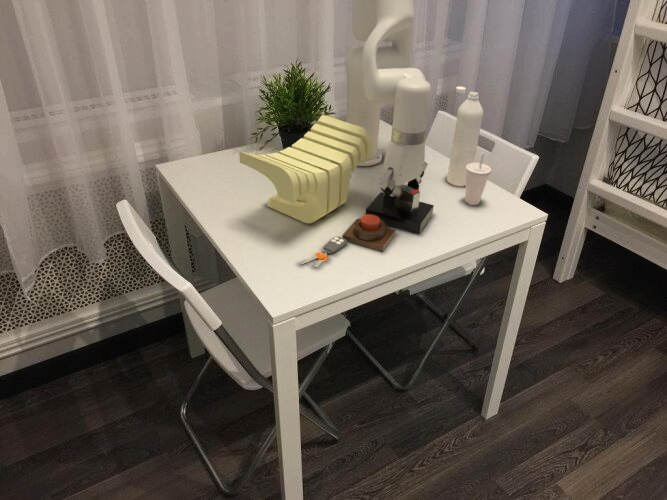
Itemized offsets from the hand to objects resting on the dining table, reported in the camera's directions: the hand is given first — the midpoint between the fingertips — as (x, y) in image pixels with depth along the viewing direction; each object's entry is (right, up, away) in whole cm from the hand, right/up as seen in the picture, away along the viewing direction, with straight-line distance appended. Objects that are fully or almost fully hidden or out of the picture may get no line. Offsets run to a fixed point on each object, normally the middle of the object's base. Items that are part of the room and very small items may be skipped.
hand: (400, 202), depth 143 cm
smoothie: (+20, +1, +11) cm, 23 cm away
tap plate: (0, -4, +2) cm, 4 cm away
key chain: (-18, -13, -12) cm, 25 cm away
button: (-8, -6, -7) cm, 12 cm away
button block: (-8, -9, -6) cm, 13 cm away
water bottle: (+18, +8, +21) cm, 28 cm away
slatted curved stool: (-23, -1, +5) cm, 23 cm away
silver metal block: (0, -1, +1) cm, 1 cm away
